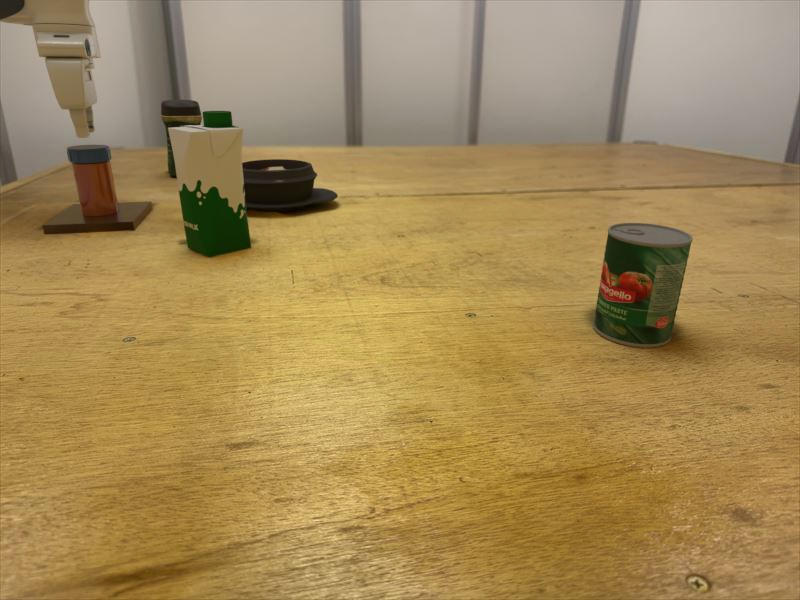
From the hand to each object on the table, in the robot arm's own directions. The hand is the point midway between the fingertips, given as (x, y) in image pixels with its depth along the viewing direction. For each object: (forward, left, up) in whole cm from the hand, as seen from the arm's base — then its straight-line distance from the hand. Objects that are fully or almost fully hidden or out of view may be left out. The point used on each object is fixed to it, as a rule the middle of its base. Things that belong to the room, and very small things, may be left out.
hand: (86, 134), depth 94 cm
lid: (0, 0, -2) cm, 2 cm away
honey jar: (0, 0, -14) cm, 14 cm away
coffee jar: (+9, +46, -15) cm, 49 cm away
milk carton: (+22, -21, -15) cm, 34 cm away
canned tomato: (+68, -60, -15) cm, 92 cm away
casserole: (+31, +6, -15) cm, 35 cm away
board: (0, 0, -15) cm, 15 cm away
